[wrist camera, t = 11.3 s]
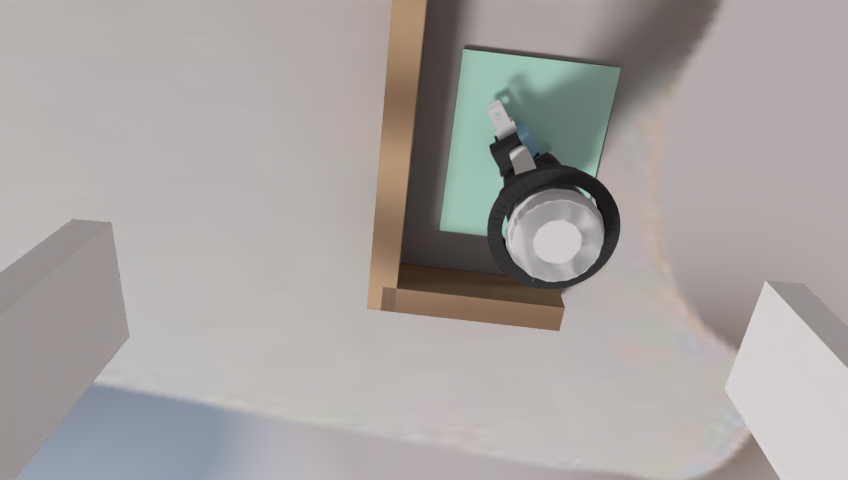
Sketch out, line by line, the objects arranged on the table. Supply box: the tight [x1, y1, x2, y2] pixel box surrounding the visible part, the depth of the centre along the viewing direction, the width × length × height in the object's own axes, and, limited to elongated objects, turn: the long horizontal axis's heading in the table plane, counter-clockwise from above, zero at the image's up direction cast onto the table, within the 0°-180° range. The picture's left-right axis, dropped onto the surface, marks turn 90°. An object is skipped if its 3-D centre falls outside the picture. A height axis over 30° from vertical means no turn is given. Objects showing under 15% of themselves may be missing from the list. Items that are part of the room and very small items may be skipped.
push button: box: [486, 100, 620, 289], centre depth 28 cm, size 7×5×10 cm
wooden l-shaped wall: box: [367, 0, 565, 331], centre depth 30 cm, size 24×11×3 cm, turn 174°
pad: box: [439, 49, 621, 238], centre depth 33 cm, size 10×8×1 cm
